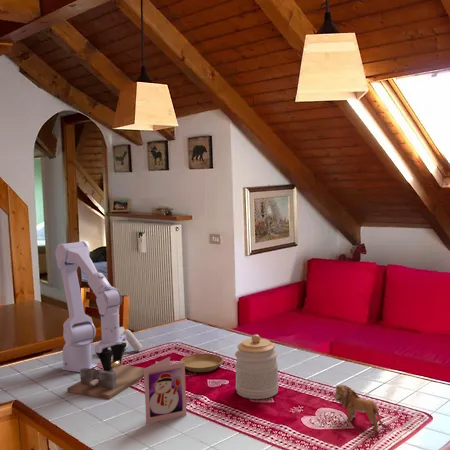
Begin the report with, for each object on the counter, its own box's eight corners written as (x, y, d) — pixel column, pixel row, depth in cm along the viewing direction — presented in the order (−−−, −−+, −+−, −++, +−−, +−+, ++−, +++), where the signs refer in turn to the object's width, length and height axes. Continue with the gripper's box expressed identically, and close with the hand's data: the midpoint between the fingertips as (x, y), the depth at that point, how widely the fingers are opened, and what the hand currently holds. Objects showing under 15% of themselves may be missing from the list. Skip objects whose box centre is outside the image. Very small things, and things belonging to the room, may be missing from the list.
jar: (283, 385, 174) (281, 330, 173) (272, 402, 162) (271, 342, 160) (243, 381, 178) (241, 327, 177) (230, 397, 166) (228, 339, 165)
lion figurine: (331, 419, 150) (330, 386, 149) (340, 412, 154) (340, 380, 153) (383, 433, 140) (383, 399, 140) (391, 426, 145) (391, 392, 144)
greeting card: (147, 424, 149) (144, 369, 148) (139, 414, 156) (137, 361, 155) (187, 416, 154) (185, 363, 153) (178, 406, 161) (176, 355, 159)
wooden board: (67, 391, 174) (66, 372, 174) (113, 366, 196) (112, 350, 195) (109, 399, 168) (108, 379, 167) (152, 372, 189) (152, 355, 189)
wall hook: (139, 353, 208) (132, 327, 208) (114, 358, 211) (107, 333, 210) (146, 346, 216) (139, 321, 216) (122, 352, 219) (115, 327, 218)
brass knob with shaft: (85, 385, 174) (84, 371, 173) (110, 372, 185) (110, 358, 185) (98, 388, 171) (98, 373, 171) (123, 373, 183) (122, 359, 183)
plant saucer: (198, 378, 183) (198, 370, 183) (172, 367, 194) (171, 360, 194) (232, 367, 193) (231, 359, 193) (204, 357, 204) (204, 350, 204)
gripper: (106, 334, 172) (108, 377, 174) (133, 322, 185) (135, 362, 187) (88, 332, 175) (90, 374, 176) (115, 320, 188) (117, 360, 190)
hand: (112, 368), depth 182 cm, fingers closed on brass knob with shaft, 5 cm apart
